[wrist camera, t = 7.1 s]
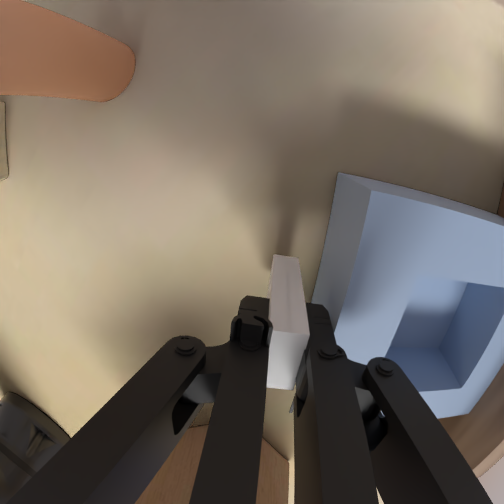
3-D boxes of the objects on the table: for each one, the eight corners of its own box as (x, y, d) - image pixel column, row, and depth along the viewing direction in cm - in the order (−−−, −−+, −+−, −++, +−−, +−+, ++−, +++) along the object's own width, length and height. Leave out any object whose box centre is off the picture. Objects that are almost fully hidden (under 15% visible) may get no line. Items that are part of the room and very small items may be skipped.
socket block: (297, 353, 19) (300, 422, 14) (338, 172, 15) (371, 190, 9) (440, 360, 19) (468, 413, 13) (497, 214, 14) (555, 245, 9)
